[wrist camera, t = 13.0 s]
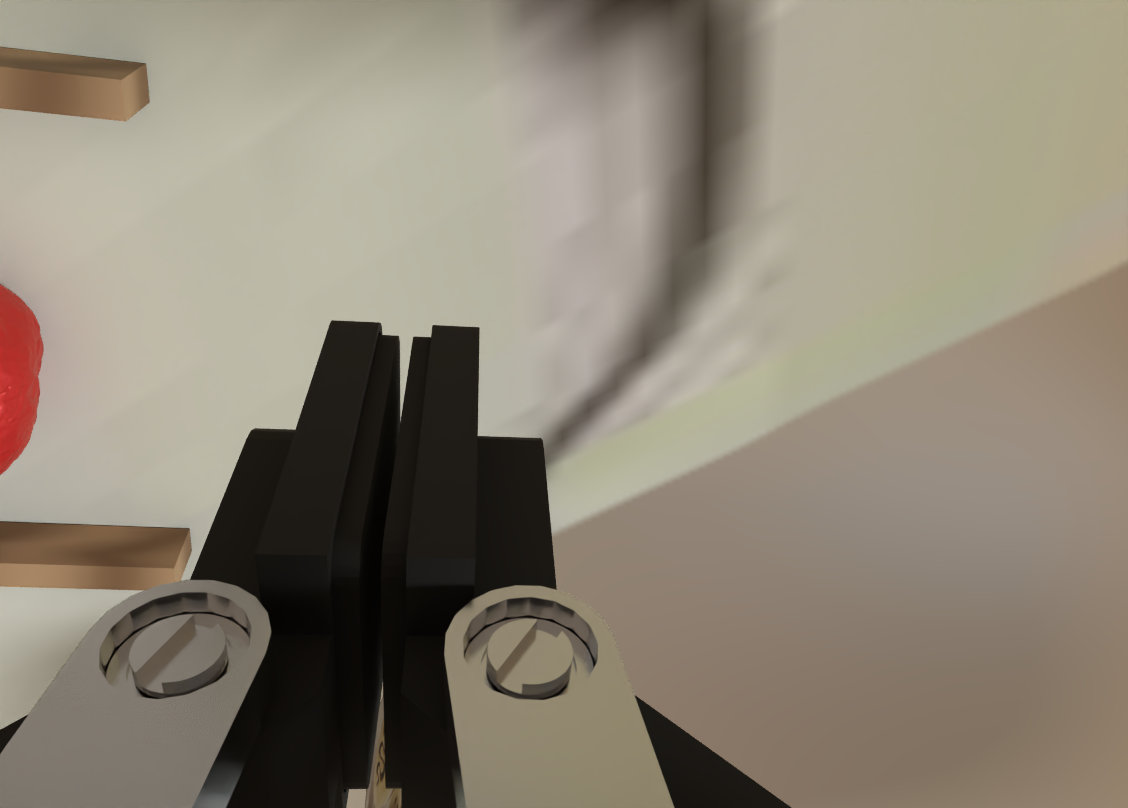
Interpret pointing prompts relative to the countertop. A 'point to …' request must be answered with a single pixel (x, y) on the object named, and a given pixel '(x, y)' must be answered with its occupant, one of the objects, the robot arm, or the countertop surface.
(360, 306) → the countertop surface
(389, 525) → the robot arm
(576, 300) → the countertop surface
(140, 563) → the display stand
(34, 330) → the red tomato
